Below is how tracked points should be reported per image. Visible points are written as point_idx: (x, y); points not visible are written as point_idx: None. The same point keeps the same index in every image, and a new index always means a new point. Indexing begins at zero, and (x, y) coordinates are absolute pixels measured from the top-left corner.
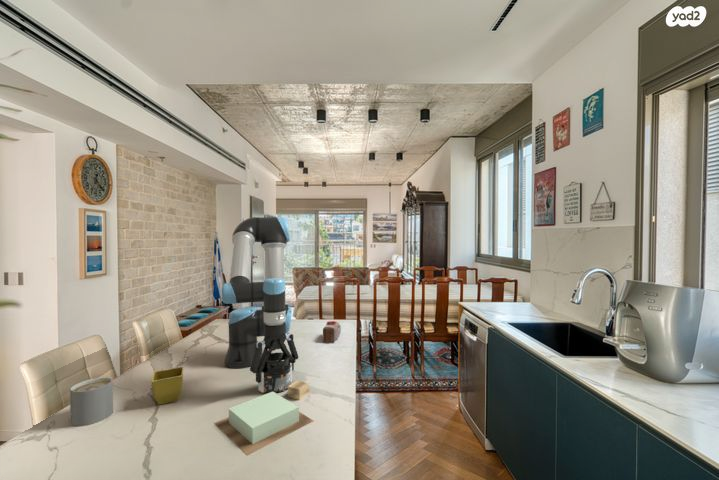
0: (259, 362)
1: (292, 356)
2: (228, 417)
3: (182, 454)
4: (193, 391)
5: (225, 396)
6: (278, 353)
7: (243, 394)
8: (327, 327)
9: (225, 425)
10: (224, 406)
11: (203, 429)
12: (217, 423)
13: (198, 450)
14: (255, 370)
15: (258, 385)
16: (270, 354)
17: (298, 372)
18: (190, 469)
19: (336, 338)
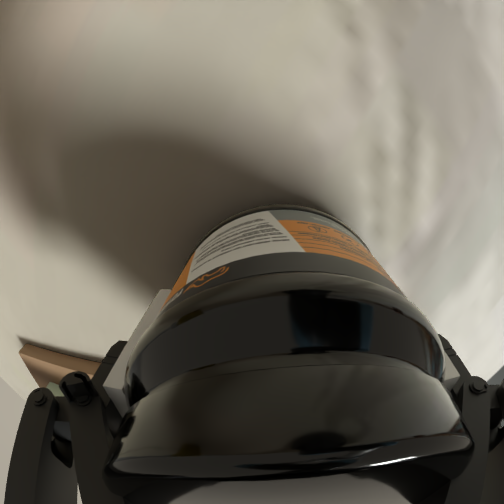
0: (84, 472)
1: (493, 412)
2: (44, 362)
3: (3, 363)
4: (6, 28)
5: (46, 149)
6: (427, 481)
7: (112, 190)
8: None
9: (44, 383)
10: (34, 248)
11: (8, 326)
12: (26, 361)
13: (21, 376)
14: (69, 443)
15: (149, 312)
16: (324, 491)
17: (501, 177)
18: (26, 398)
19: None
